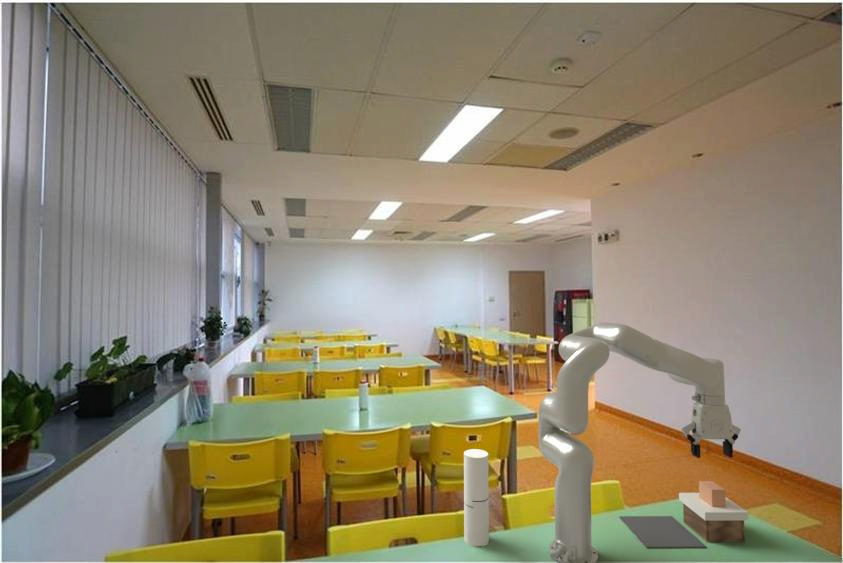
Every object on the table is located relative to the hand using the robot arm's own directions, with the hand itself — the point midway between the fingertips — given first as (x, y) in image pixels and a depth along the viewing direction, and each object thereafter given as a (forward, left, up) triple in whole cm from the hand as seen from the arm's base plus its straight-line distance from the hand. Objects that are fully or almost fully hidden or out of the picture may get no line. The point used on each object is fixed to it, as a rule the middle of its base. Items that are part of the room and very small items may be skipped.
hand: (711, 456), depth 133 cm
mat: (-11, +12, -23) cm, 28 cm away
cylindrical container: (-52, +50, -23) cm, 76 cm away
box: (0, 0, -23) cm, 23 cm away
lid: (0, 0, -16) cm, 16 cm away
